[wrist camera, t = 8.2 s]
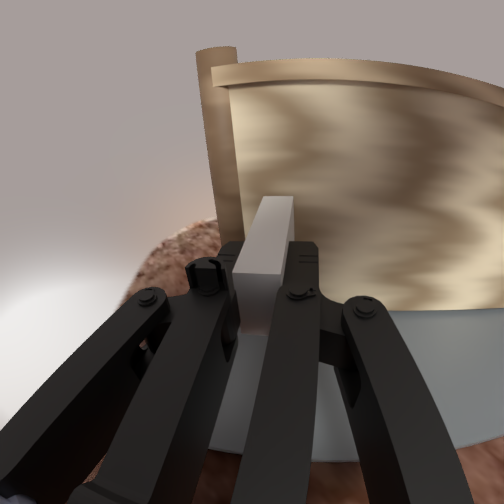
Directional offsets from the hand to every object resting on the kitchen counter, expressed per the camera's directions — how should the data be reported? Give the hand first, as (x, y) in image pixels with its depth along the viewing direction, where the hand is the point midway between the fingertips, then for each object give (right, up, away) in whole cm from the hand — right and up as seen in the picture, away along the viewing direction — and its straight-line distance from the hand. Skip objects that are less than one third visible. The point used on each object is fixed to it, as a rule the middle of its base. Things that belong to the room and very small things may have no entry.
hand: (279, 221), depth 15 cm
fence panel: (+7, -5, +2) cm, 9 cm away
